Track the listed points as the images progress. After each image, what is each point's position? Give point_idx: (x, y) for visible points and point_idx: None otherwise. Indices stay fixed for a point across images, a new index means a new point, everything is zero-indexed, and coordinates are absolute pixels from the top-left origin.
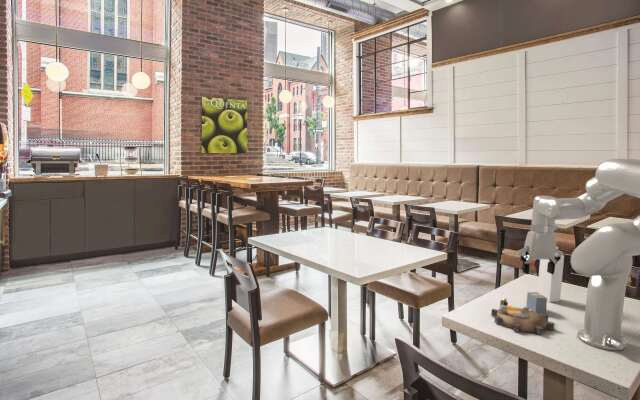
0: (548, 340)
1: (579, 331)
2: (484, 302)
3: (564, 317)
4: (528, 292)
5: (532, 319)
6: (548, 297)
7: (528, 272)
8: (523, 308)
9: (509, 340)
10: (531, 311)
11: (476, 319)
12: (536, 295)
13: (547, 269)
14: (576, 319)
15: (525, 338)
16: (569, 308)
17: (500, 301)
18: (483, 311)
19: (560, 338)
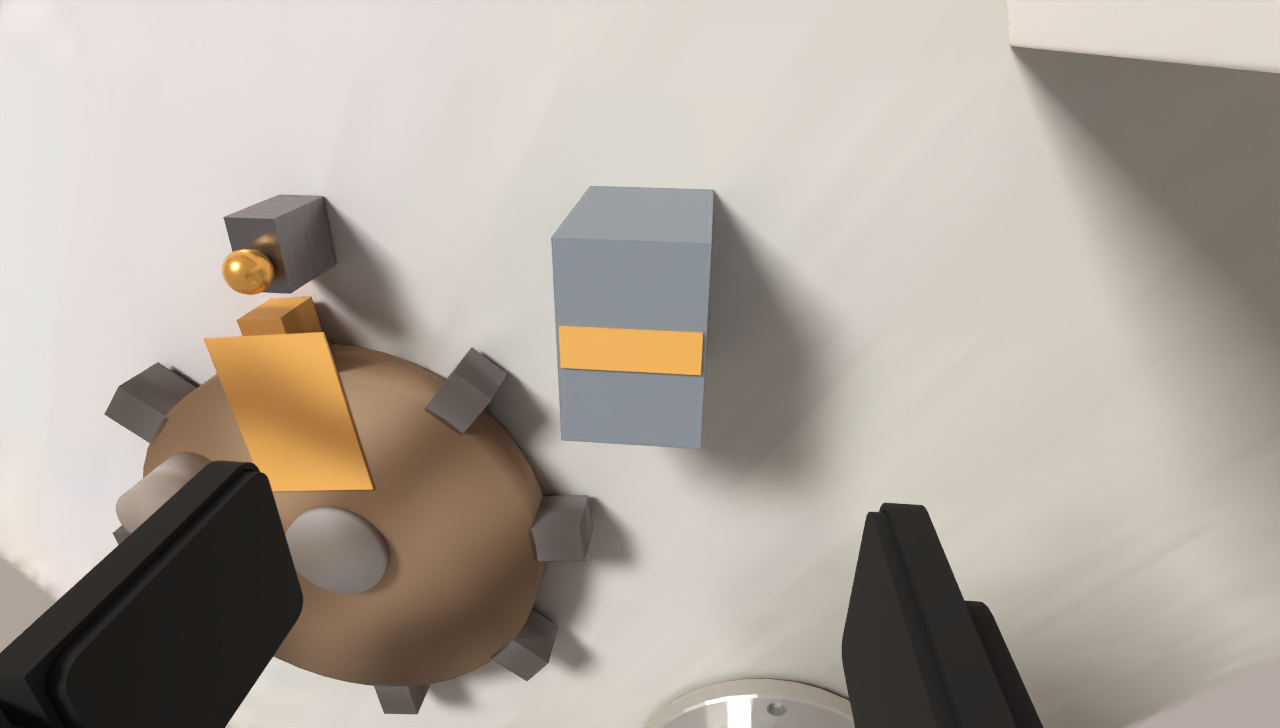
0: (436, 719)
1: (686, 719)
2: (132, 21)
3: (821, 455)
4: (562, 245)
5: (405, 601)
6: (1034, 20)
7: (272, 641)
8: (430, 402)
9: None
10: (476, 471)
11: (22, 433)
12: (608, 368)
13: (882, 555)
14: (902, 499)
15: (304, 688)
16: (1100, 251)
17: (234, 213)
18: (93, 283)
19: (527, 711)
